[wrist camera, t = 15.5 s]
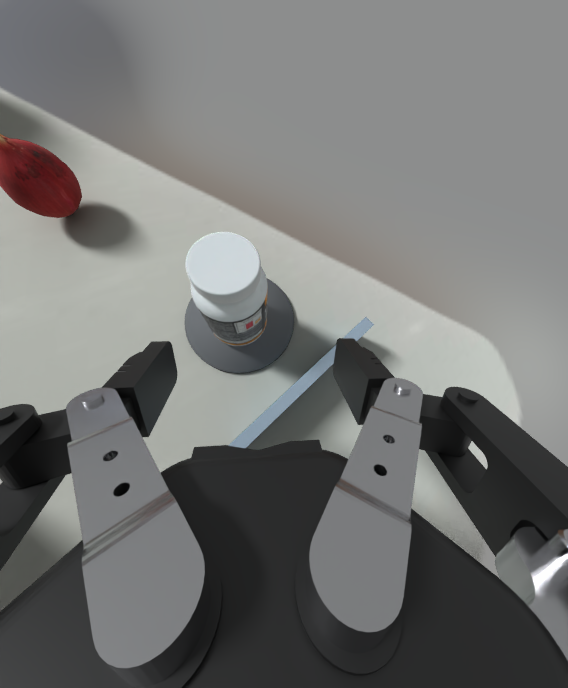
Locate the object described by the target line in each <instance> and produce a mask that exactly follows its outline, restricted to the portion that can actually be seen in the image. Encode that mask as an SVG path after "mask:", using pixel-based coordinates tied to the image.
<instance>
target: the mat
mask: <svg viewBox="0 0 568 688" xmlns="http://www.w3.org/2000/svg"><path fill="white" fill-rule="evenodd" d="M267 285H268V293H267V323H266V327H265V330H264V331H263V333H262V334H261V336H260V337H259V338H258V339H257V340H255V341H254V342H252V343H250V344H248V345H244V346H232V345H228V344H226V343H223V342H222V341H220V340H219V339H218V338H217V337H216V336H215V335H214V333H213V332H212V331H211V329H210V328H209V326H208V324H207V322H206V321H205V319H204V317H203V316H202V314H201V313H200V311H199V310H198V308H197V306H196V304H195V302H194V300H193V298H192V299H191V300H190V302H189V305H188V307H187V310H186V314H185V331H186V336H187V338H188V341H189V343H190V345H191V347H192V349H193V350H194V351H195V353H196V354H197V355H198V356H199V357H200V358H201V359H202V360H203V361H205V362H206V363H207V364H209V365H211V366H212V367H214V368H217V369H219V370H222V371H226V372H231V373H246V372H252V371H256V370H259V369H261V368H264V367H266V366H267V365H269V364H271V363H272V362H273V361H275V360H276V359H277V358H278V357H279V356H280V355H281V354H282V353H283V351H284V350H285V349H286V347H287V345H288V343H289V341H290V339H291V336H292V332H293V326H294V316H293V310H292V307H291V304H290V302H289V300H288V298H287V296H286V295H285V293H284V292H283V291H282V290H281V289H280V288H279V287H278V286H277V285H276V284H275V283H273V282H272V281H271V280H269V279H267Z"/></svg>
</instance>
